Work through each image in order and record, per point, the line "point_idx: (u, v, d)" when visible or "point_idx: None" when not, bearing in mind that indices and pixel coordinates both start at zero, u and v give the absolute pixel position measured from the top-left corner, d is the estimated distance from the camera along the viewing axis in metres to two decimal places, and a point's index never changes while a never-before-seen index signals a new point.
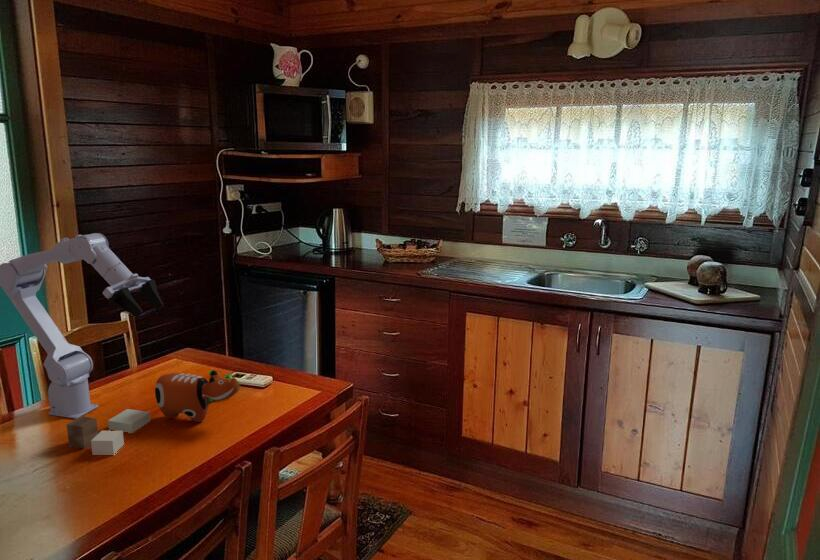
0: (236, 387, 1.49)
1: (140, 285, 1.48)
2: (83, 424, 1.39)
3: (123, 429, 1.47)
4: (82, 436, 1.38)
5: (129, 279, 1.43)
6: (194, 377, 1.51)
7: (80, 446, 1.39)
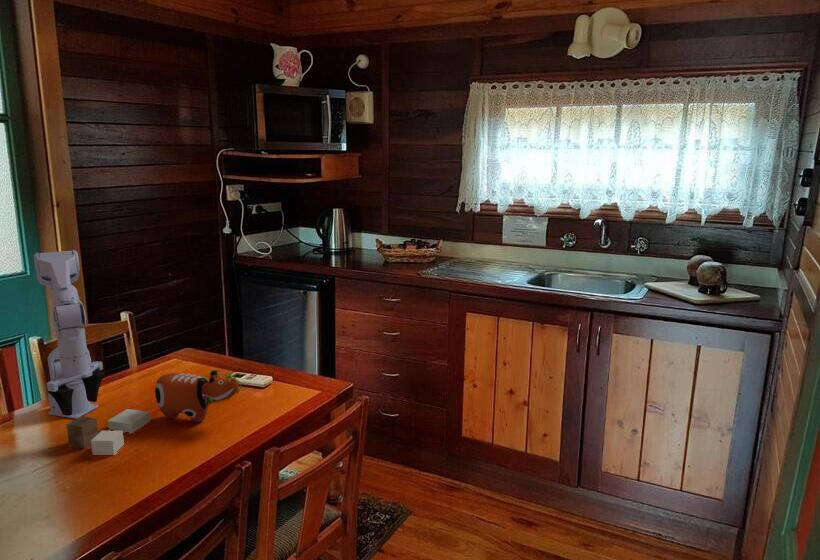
0: (236, 387, 1.49)
1: None
2: (83, 424, 1.39)
3: (123, 429, 1.47)
4: (82, 436, 1.38)
5: (81, 377, 1.36)
6: (194, 377, 1.51)
7: (80, 446, 1.39)
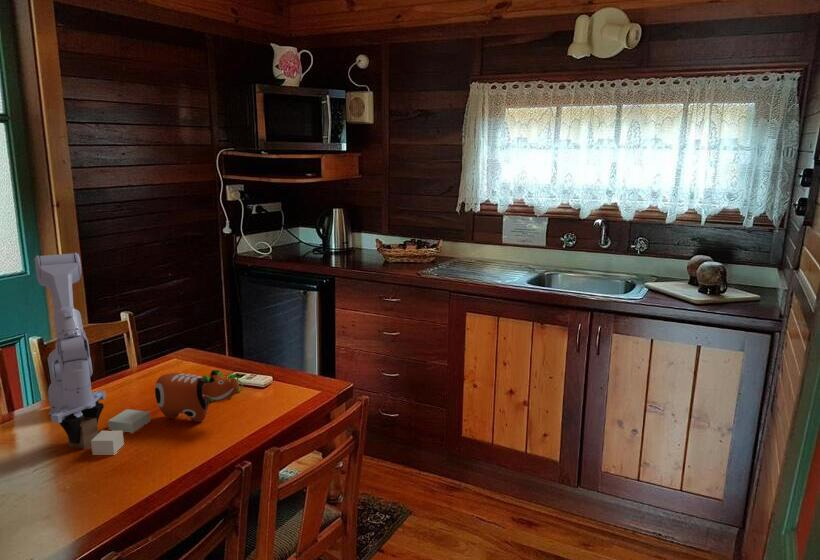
0: (236, 387, 1.49)
1: None
2: (83, 424, 1.39)
3: (123, 429, 1.47)
4: (82, 436, 1.38)
5: (84, 408, 1.37)
6: (194, 377, 1.51)
7: (80, 446, 1.39)
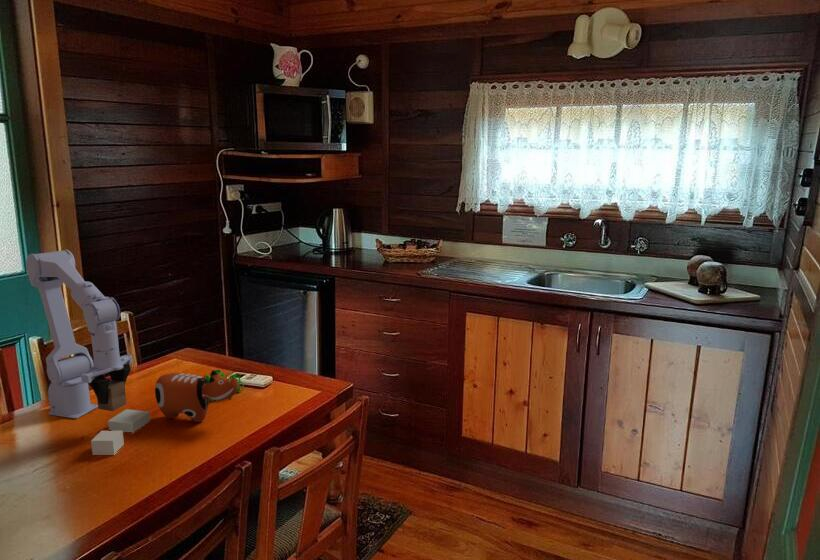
0: (236, 387, 1.49)
1: None
2: (112, 386, 1.43)
3: (123, 429, 1.47)
4: (111, 398, 1.43)
5: (113, 369, 1.42)
6: (194, 377, 1.51)
7: (109, 408, 1.44)
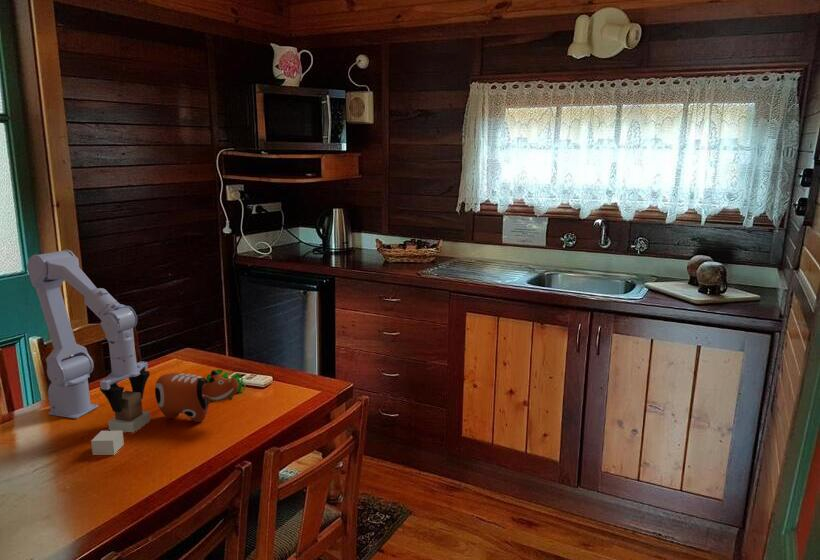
0: (236, 387, 1.49)
1: None
2: (129, 397, 1.48)
3: (124, 429, 1.47)
4: (128, 408, 1.47)
5: (130, 376, 1.46)
6: (194, 377, 1.51)
7: (126, 418, 1.48)
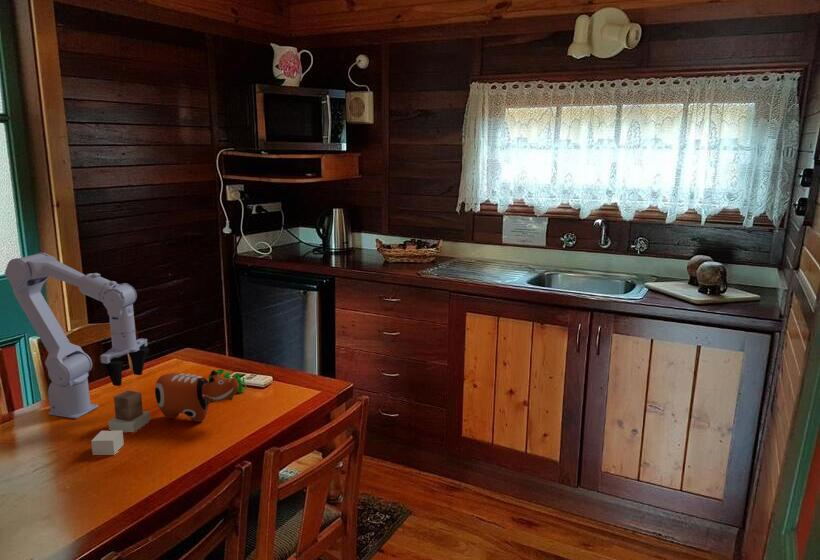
0: (236, 387, 1.49)
1: None
2: (129, 397, 1.48)
3: (124, 429, 1.47)
4: (128, 408, 1.47)
5: (129, 351, 1.51)
6: (194, 377, 1.51)
7: (125, 418, 1.48)
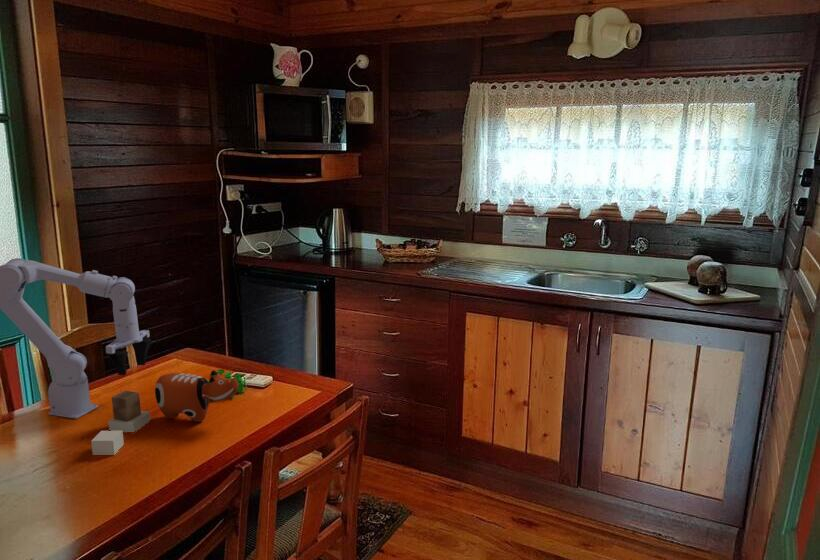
0: (236, 387, 1.49)
1: None
2: (127, 397, 1.47)
3: (124, 429, 1.47)
4: (126, 408, 1.47)
5: (133, 342, 1.57)
6: (194, 377, 1.51)
7: (124, 418, 1.48)
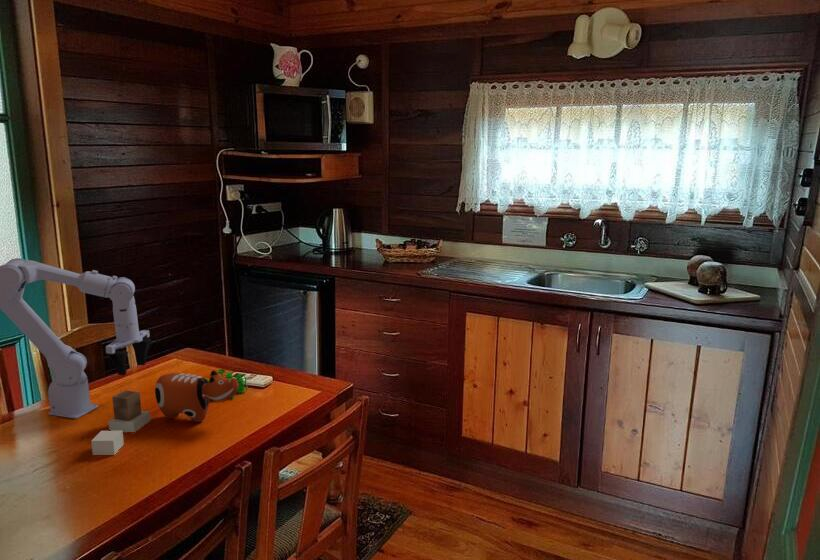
0: (236, 387, 1.49)
1: None
2: (128, 397, 1.48)
3: (124, 429, 1.47)
4: (127, 408, 1.47)
5: (133, 342, 1.57)
6: (194, 377, 1.51)
7: (124, 418, 1.48)
